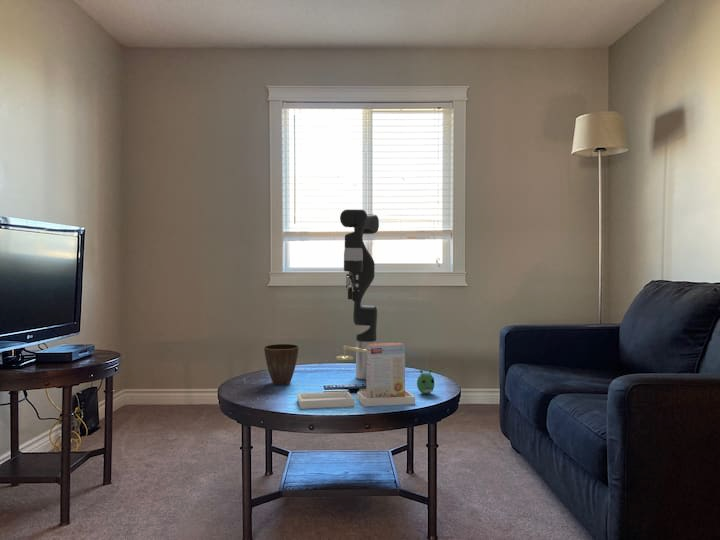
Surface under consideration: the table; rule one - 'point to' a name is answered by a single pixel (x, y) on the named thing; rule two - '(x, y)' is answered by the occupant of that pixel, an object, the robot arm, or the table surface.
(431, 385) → the alien toy
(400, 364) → the cracker box
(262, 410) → the table surface
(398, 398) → the dish
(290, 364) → the plant pot
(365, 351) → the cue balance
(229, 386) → the table surface
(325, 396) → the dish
